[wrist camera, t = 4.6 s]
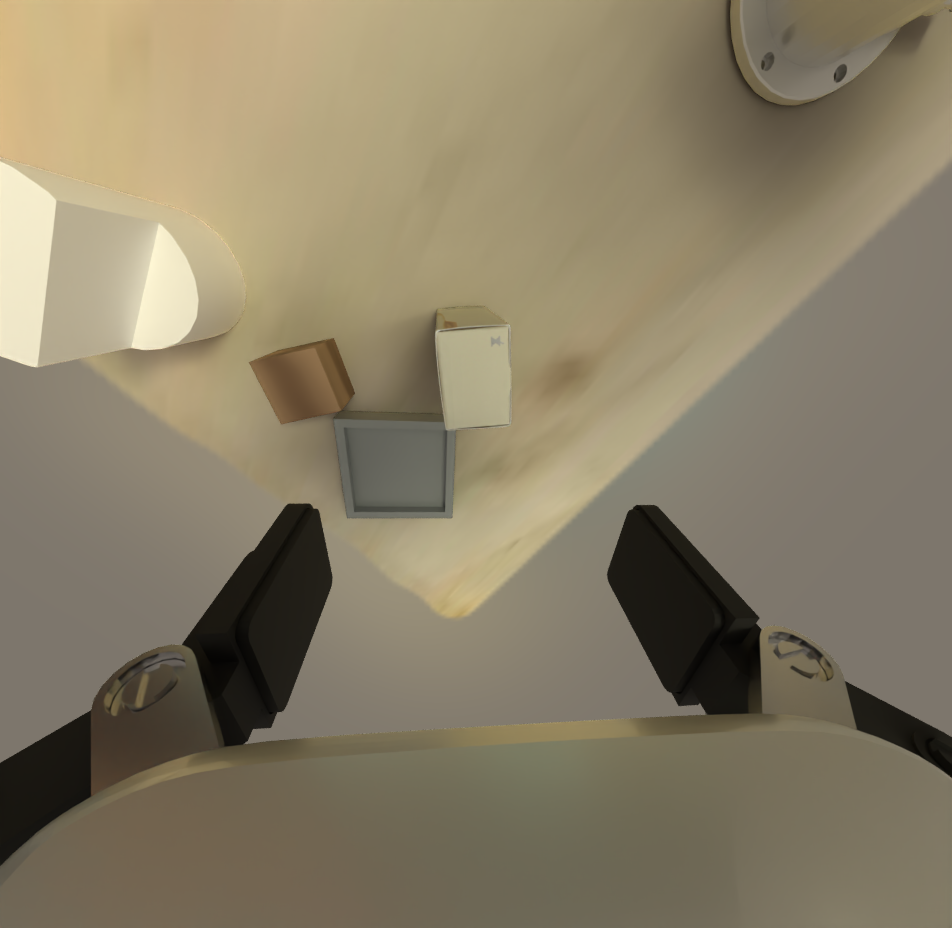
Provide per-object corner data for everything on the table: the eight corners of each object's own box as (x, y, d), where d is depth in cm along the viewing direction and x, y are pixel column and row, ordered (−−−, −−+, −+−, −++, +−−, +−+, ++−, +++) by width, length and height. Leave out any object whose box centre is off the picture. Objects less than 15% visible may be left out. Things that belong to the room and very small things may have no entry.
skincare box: (435, 308, 29) (431, 322, 18) (486, 304, 29) (512, 317, 18) (442, 383, 32) (443, 433, 21) (488, 379, 32) (512, 428, 21)
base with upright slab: (227, 359, 29) (105, 401, 19) (103, 294, 26) (-126, 301, 16) (261, 258, 26) (138, 240, 15) (125, 171, 23) (-143, 77, 12)
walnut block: (334, 337, 29) (314, 347, 25) (355, 393, 32) (340, 411, 27) (278, 350, 29) (249, 362, 25) (303, 404, 32) (280, 424, 27)
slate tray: (455, 414, 33) (456, 422, 31) (451, 506, 38) (452, 518, 36) (339, 410, 32) (333, 418, 30) (351, 506, 37) (346, 518, 35)
